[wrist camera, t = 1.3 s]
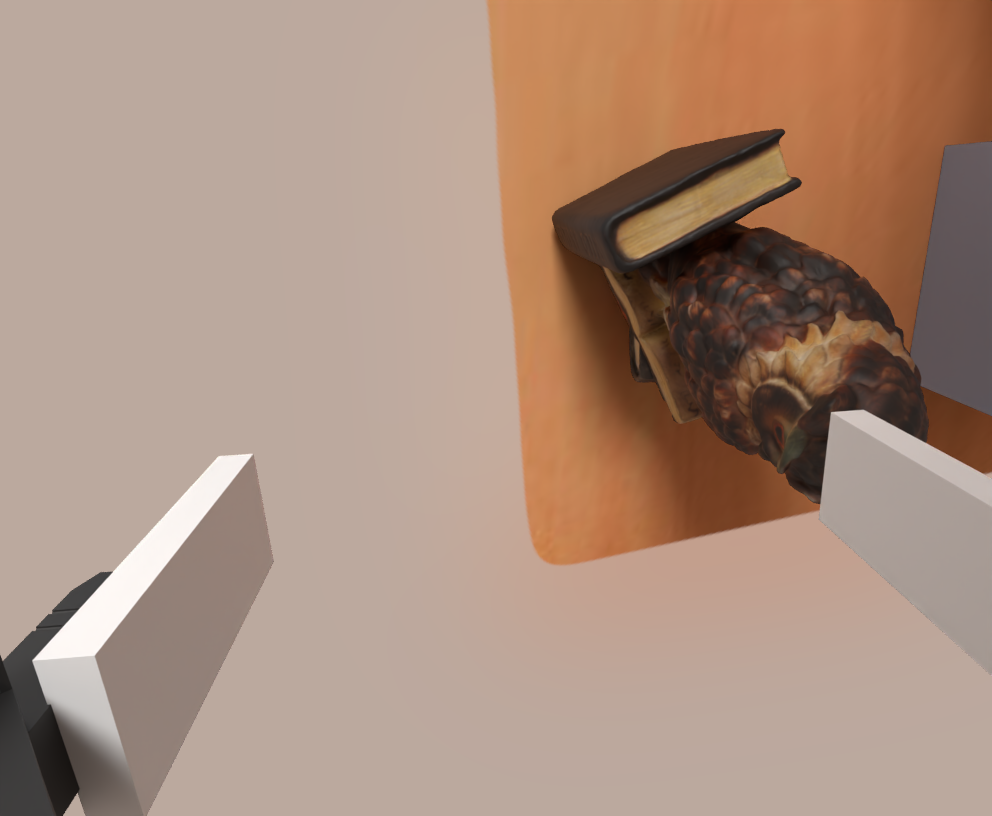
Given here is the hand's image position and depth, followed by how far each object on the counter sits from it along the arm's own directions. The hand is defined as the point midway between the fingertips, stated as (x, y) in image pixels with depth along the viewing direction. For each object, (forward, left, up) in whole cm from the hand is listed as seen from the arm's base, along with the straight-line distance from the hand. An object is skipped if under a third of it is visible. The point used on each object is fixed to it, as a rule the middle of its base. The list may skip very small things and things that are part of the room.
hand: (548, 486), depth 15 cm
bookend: (0, +12, -31) cm, 33 cm away
